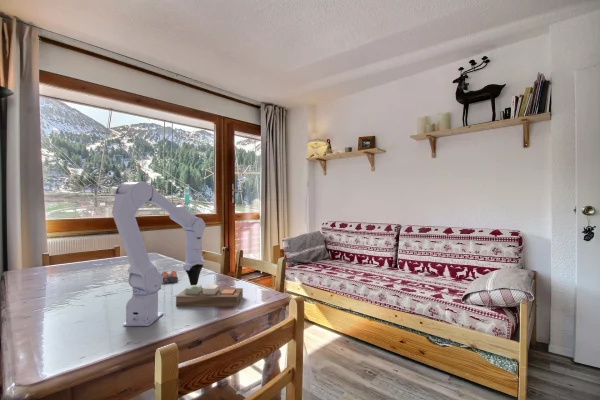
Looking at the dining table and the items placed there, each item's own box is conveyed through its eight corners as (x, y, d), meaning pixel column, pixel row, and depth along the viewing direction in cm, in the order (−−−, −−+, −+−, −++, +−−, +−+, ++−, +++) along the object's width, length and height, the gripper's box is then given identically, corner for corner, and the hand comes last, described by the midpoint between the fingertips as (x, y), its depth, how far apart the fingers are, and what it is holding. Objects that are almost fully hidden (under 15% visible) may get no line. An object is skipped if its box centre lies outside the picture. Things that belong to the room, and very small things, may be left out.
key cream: (214, 294, 105) (214, 288, 105) (203, 294, 105) (203, 288, 105) (218, 290, 110) (218, 285, 110) (207, 290, 110) (207, 285, 110)
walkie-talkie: (156, 278, 139) (156, 290, 121) (156, 269, 139) (156, 279, 121) (176, 276, 143) (178, 287, 125) (176, 267, 143) (178, 277, 125)
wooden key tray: (236, 306, 103) (236, 296, 103) (176, 306, 103) (176, 296, 103) (242, 297, 113) (242, 288, 113) (187, 296, 113) (187, 287, 113)
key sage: (197, 294, 105) (197, 288, 105) (185, 294, 106) (185, 288, 106) (201, 290, 110) (201, 284, 110) (190, 290, 110) (190, 284, 110)
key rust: (232, 299, 105) (232, 293, 105) (220, 299, 105) (220, 293, 105) (235, 295, 110) (235, 289, 110) (223, 295, 110) (223, 289, 110)
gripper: (197, 252, 100) (197, 291, 100) (210, 245, 115) (210, 279, 115) (177, 252, 100) (177, 290, 100) (193, 245, 115) (193, 279, 115)
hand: (193, 284), depth 108 cm, fingers closed
